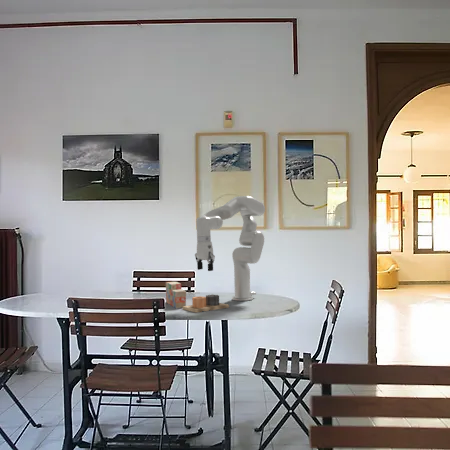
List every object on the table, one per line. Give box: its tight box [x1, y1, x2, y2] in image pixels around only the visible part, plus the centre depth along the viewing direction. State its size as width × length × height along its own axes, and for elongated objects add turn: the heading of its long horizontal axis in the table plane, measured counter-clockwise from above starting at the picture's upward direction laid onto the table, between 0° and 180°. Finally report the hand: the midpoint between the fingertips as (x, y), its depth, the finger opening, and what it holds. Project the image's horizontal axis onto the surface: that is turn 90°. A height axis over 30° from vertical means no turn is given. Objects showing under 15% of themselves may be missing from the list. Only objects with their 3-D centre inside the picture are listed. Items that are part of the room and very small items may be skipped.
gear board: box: [182, 294, 230, 313], centre depth 263 cm, size 22×13×7 cm, turn 128°
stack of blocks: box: [165, 281, 187, 309], centre depth 276 cm, size 21×6×12 cm, turn 21°
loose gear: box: [191, 295, 206, 308], centre depth 261 cm, size 7×7×5 cm
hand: (205, 270), depth 266 cm, fingers open, 9 cm apart
